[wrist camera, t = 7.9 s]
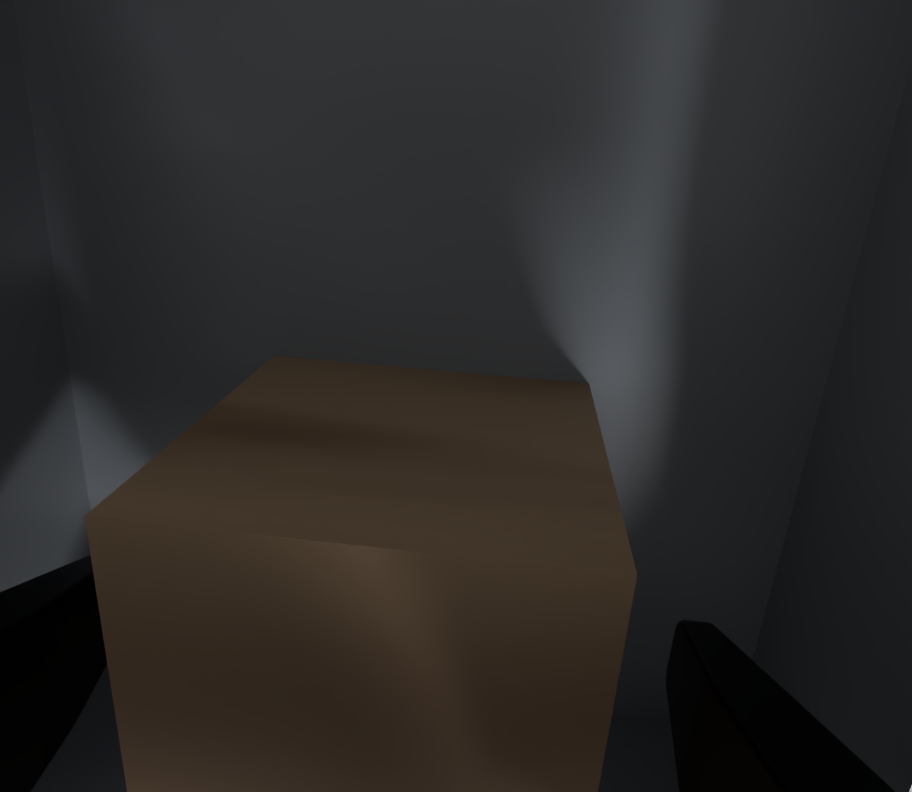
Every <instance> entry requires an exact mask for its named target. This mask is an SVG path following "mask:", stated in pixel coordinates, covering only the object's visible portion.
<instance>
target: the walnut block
mask: <svg viewBox="0 0 912 792" xmlns="http://www.w3.org/2000/svg"><path fill="white" fill-rule="evenodd" d="M85 523H86V529H87V536H88V542H89V549H90V555H91V561H92V568H93V574H94V581H95V587H96V594H97V600H98V607H99V613H100V620H101V626H102V633H103V639H104V645H105V652H106V658H107V665H108V671H109V678H110V684H111V691H112V697H113V704H114V710H115V717H116V723H117V729H118V736H119V742H120V749H121V755H122V762H123V768H124V775H125V781H126V788H127V792H598V789H599V783H600V778H601V772H602V767H603V761H604V756H605V750H606V745H607V739H608V734H609V728H610V723H611V717H612V712H613V706H614V701H615V695H616V690H617V684H618V679H619V673H620V668H621V662H622V657H623V651H624V646H625V640H626V635H627V629H628V624H629V618H630V613H631V607H632V602H633V596H634V591H635V585H636V580H637V572H636V568H635V564H634V560H633V556H632V552H631V548H630V544H629V540H628V536H627V532H626V528H625V524H624V520H623V516H622V512H621V508H620V504H619V500H618V496H617V492H616V489H615V485H614V481H613V477H612V473H611V469H610V465H609V461H608V457H607V453H606V449H605V445H604V441H603V437H602V433H601V429H600V425H599V421H598V417H597V413H596V409H595V405H594V401H593V397H592V393H591V389H590V385H589V383H578V382H567V381H555V380H544V379H533V378H521V377H510V376H498V375H487V374H475V373H464V372H453V371H441V370H430V369H418V368H407V367H395V366H384V365H373V364H361V363H350V362H338V361H327V360H315V359H304V358H293V357H281V356H273V357H272V358H271V359H270V360H269V361H267V362H266V363H265V364H264V365H263V366H262V367H260V368H259V369H258V370H257V371H256V372H254V373H253V374H252V375H251V376H250V377H248V378H247V379H246V380H245V381H244V382H243V383H241V384H240V385H239V386H238V387H237V388H235V389H234V390H233V391H232V392H231V393H230V394H228V395H227V396H226V397H225V398H224V399H222V400H221V401H220V402H219V403H218V404H217V405H215V406H214V407H213V408H212V409H211V410H209V411H208V412H207V413H206V414H205V415H203V416H202V417H201V418H200V419H199V420H198V421H196V422H195V423H194V424H193V425H192V426H190V427H189V428H188V429H187V430H186V431H185V432H183V433H182V434H181V435H180V436H179V437H177V438H176V439H175V440H174V441H173V442H172V443H170V444H169V445H168V446H167V447H166V448H164V449H163V450H162V451H161V452H160V453H159V454H157V455H156V456H155V457H154V458H153V459H151V460H150V461H149V462H148V463H147V464H145V465H144V466H143V467H142V468H141V469H140V470H138V471H137V472H136V473H135V474H134V475H132V476H131V477H130V478H129V479H128V480H127V481H125V482H124V483H123V484H122V485H121V486H119V487H118V488H117V489H116V490H115V491H114V492H112V493H111V494H110V495H109V496H108V497H106V498H105V499H104V500H103V501H102V502H101V503H99V504H98V505H97V506H96V507H95V508H93V509H92V510H91V511H90V512H89V513H87V514H86V515H85Z"/></svg>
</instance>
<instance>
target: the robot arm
mask: <svg viewBox="0 0 912 792" xmlns="http://www.w3.org/2000/svg"><path fill="white" fill-rule="evenodd" d="M106 666H107V658H106V652H105V645H104V639H103V633H102V626H101V620H100V613H99V607H98V600H97V594H96V587H95V581H94V574H93V568H92V561H91V555H89V556H86V557H84V558H81V559H79V560H76V561H74V562H71V563H69V564H67V565H64V566H62V567H59V568H57V569H55V570H52V571H50V572H47V573H45V574H42V575H40V576H38V577H35V578H33V579H30V580H28V581H26V582H23V583H21V584H18V585H16V586H13V587H11V588H9V589H6V590H4V591H1V592H0V792H31V791H32V789H33V788H34V786H35V785H36V783H37V782H38V780H39V779H40V777H41V776H42V774H43V773H44V771H45V769H46V768H47V766H48V765H49V763H50V762H51V760H52V759H53V757H54V756H55V754H56V753H57V751H58V750H59V748H60V747H61V745H62V744H63V742H64V741H65V739H66V737H67V736H68V734H69V733H70V731H71V730H72V728H73V726H74V725H75V723H76V721H77V719H78V718H79V716H80V714H81V712H82V711H83V709H84V707H85V705H86V703H87V701H88V699H89V698H90V696H91V694H92V692H93V690H94V688H95V686H96V684H97V682H98V681H99V679H100V677H101V675H102V673H103V671H104V669H105V667H106ZM666 691H667V699H668V707H669V715H670V723H671V731H672V739H673V747H674V755H675V763H676V771H677V779H678V786H679V792H896V791H895V790H894V789H893V788H892V787H890V786H889V785H888V784H887V783H886V782H885V781H884V780H883V779H882V778H881V777H880V776H878V775H877V774H876V773H875V772H874V771H873V770H872V769H871V768H870V767H869V766H868V765H866V764H865V763H864V762H863V761H862V760H861V759H860V758H859V757H858V756H857V755H856V754H854V753H853V752H852V751H851V750H850V749H849V748H848V747H847V746H846V745H845V744H844V743H842V742H841V741H840V740H839V739H838V738H837V737H836V736H835V735H834V734H833V733H832V732H830V731H829V730H828V729H827V728H826V727H825V726H824V725H823V724H822V723H821V722H820V721H818V720H817V719H816V718H815V717H814V716H813V715H812V714H811V713H810V712H809V711H808V710H806V709H805V708H804V707H803V706H802V705H801V704H800V703H799V702H798V701H797V700H796V699H794V698H793V697H792V696H791V695H790V694H789V693H788V692H787V691H786V690H785V689H784V688H782V687H781V686H780V685H779V684H778V683H777V682H776V681H775V680H774V679H773V678H772V677H770V676H769V675H768V674H767V673H766V672H765V671H764V670H763V669H762V668H761V667H760V666H759V665H757V664H756V663H755V662H754V661H753V660H752V659H751V658H750V657H749V656H748V655H747V654H745V653H744V652H743V651H742V650H741V649H740V648H739V647H738V646H737V645H736V644H735V643H733V642H732V641H731V640H730V639H729V638H728V637H727V636H726V635H725V634H724V633H723V632H721V631H720V630H719V629H718V628H717V627H716V626H715V625H713V624H712V623H709V622H703V621H694V620H685V619H684V620H681V621H679V622H678V624H677V625H676V628H675V632H674V637H673V641H672V646H671V651H670V656H669V660H668V665H667V671H666Z"/></svg>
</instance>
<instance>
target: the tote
mask: <svg viewBox="0 0 912 792" xmlns="http://www.w3.org/2000/svg"><path fill="white" fill-rule="evenodd" d="M273 356H281V357H293V358H304V359H315V360H327V361H338V362H350V363H361V364H373V365H384V366H395V367H407V368H418V369H430V370H441V371H453V372H464V373H475V374H487V375H498V376H510V377H521V378H533V379H544V380H555V381H567V382H578V383H589V385H590V389H591V393H592V397H593V401H594V405H595V409H596V413H597V417H598V421H599V425H600V429H601V433H602V437H603V441H604V445H605V449H606V453H607V457H608V461H609V465H610V469H611V473H612V477H613V481H614V485H615V489H616V492H617V496H618V500H619V504H620V508H621V512H622V516H623V520H624V524H625V528H626V532H627V536H628V540H629V544H630V548H631V552H632V556H633V560H634V564H635V568H636V572H637V580H636V585H635V591H634V596H633V602H632V607H631V613H630V618H629V624H628V629H627V635H626V640H625V646H624V651H623V657H622V662H621V668H620V673H619V679H618V684H617V690H616V695H615V701H614V706H613V712H612V717H611V723H610V728H609V734H608V739H607V745H606V750H605V756H604V761H603V767H602V772H601V778H600V783H599V789H598V792H679V786H678V779H677V771H676V763H675V755H674V747H673V739H672V731H671V723H670V715H669V707H668V699H667V691H666V671H667V665H668V660H669V656H670V651H671V646H672V641H673V637H674V632H675V628H676V625H677V624H678V622H679V621H681V620H684V619H685V620H694V621H703V622H709V623H712V624H713V625H715V626H716V627H717V628H718V629H719V630H720V631H721V632H723V633H724V634H725V635H726V636H727V637H728V638H729V639H730V640H731V641H732V642H733V643H735V644H736V645H737V646H738V647H739V648H740V649H741V650H742V651H743V652H744V653H745V654H747V655H748V656H749V657H750V658H751V659H752V660H753V661H754V662H755V663H756V664H757V665H759V666H760V667H761V668H762V669H763V670H764V671H765V672H766V673H767V674H768V675H769V676H770V677H772V678H773V679H774V680H775V681H776V682H777V683H778V684H779V685H780V686H781V687H782V688H784V689H785V690H786V691H787V692H788V693H789V694H790V695H791V696H792V697H793V698H794V699H796V700H797V701H798V702H799V703H800V704H801V705H802V706H803V707H804V708H805V709H806V710H808V711H809V712H810V713H811V714H812V715H813V716H814V717H815V718H816V719H817V720H818V721H820V722H821V723H822V724H823V725H824V726H825V727H826V728H827V729H828V730H829V731H830V732H832V733H833V734H834V735H835V736H836V737H837V738H838V739H839V740H840V741H841V742H842V743H844V744H845V745H846V746H847V747H848V748H849V749H850V750H851V751H852V752H853V753H854V754H856V755H857V756H858V757H859V758H860V759H861V760H862V761H863V762H864V763H865V764H866V765H868V766H869V767H870V768H871V769H872V770H873V771H874V772H875V773H876V774H877V775H878V776H880V777H881V778H882V779H883V780H884V781H885V782H886V783H887V784H888V785H889V786H890V787H892V788H893V789H894V790H895V791H896V792H912V0H0V592H1V591H4V590H6V589H9V588H11V587H13V586H16V585H18V584H21V583H23V582H26V581H28V580H30V579H33V578H35V577H38V576H40V575H42V574H45V573H47V572H50V571H52V570H55V569H57V568H59V567H62V566H64V565H67V564H69V563H71V562H74V561H76V560H79V559H81V558H84V557H86V556H89V555H90V549H89V542H88V536H87V529H86V523H85V515H86V514H87V513H89V512H90V511H91V510H92V509H93V508H95V507H96V506H97V505H98V504H99V503H101V502H102V501H103V500H104V499H105V498H106V497H108V496H109V495H110V494H111V493H112V492H114V491H115V490H116V489H117V488H118V487H119V486H121V485H122V484H123V483H124V482H125V481H127V480H128V479H129V478H130V477H131V476H132V475H134V474H135V473H136V472H137V471H138V470H140V469H141V468H142V467H143V466H144V465H145V464H147V463H148V462H149V461H150V460H151V459H153V458H154V457H155V456H156V455H157V454H159V453H160V452H161V451H162V450H163V449H164V448H166V447H167V446H168V445H169V444H170V443H172V442H173V441H174V440H175V439H176V438H177V437H179V436H180V435H181V434H182V433H183V432H185V431H186V430H187V429H188V428H189V427H190V426H192V425H193V424H194V423H195V422H196V421H198V420H199V419H200V418H201V417H202V416H203V415H205V414H206V413H207V412H208V411H209V410H211V409H212V408H213V407H214V406H215V405H217V404H218V403H219V402H220V401H221V400H222V399H224V398H225V397H226V396H227V395H228V394H230V393H231V392H232V391H233V390H234V389H235V388H237V387H238V386H239V385H240V384H241V383H243V382H244V381H245V380H246V379H247V378H248V377H250V376H251V375H252V374H253V373H254V372H256V371H257V370H258V369H259V368H260V367H262V366H263V365H264V364H265V363H266V362H267V361H269V360H270V359H271V358H272V357H273ZM31 792H127V788H126V781H125V775H124V768H123V762H122V755H121V749H120V742H119V736H118V729H117V723H116V717H115V710H114V704H113V697H112V691H111V684H110V678H109V671H108V665H107V666H106V667H105V669H104V671H103V673H102V675H101V677H100V679H99V681H98V682H97V684H96V686H95V688H94V690H93V692H92V694H91V696H90V698H89V699H88V701H87V703H86V705H85V707H84V709H83V711H82V712H81V714H80V716H79V718H78V719H77V721H76V723H75V725H74V726H73V728H72V730H71V731H70V733H69V734H68V736H67V737H66V739H65V741H64V742H63V744H62V745H61V747H60V748H59V750H58V751H57V753H56V754H55V756H54V757H53V759H52V760H51V762H50V763H49V765H48V766H47V768H46V769H45V771H44V773H43V774H42V776H41V777H40V779H39V780H38V782H37V783H36V785H35V786H34V788H33V789H32V791H31Z"/></svg>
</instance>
